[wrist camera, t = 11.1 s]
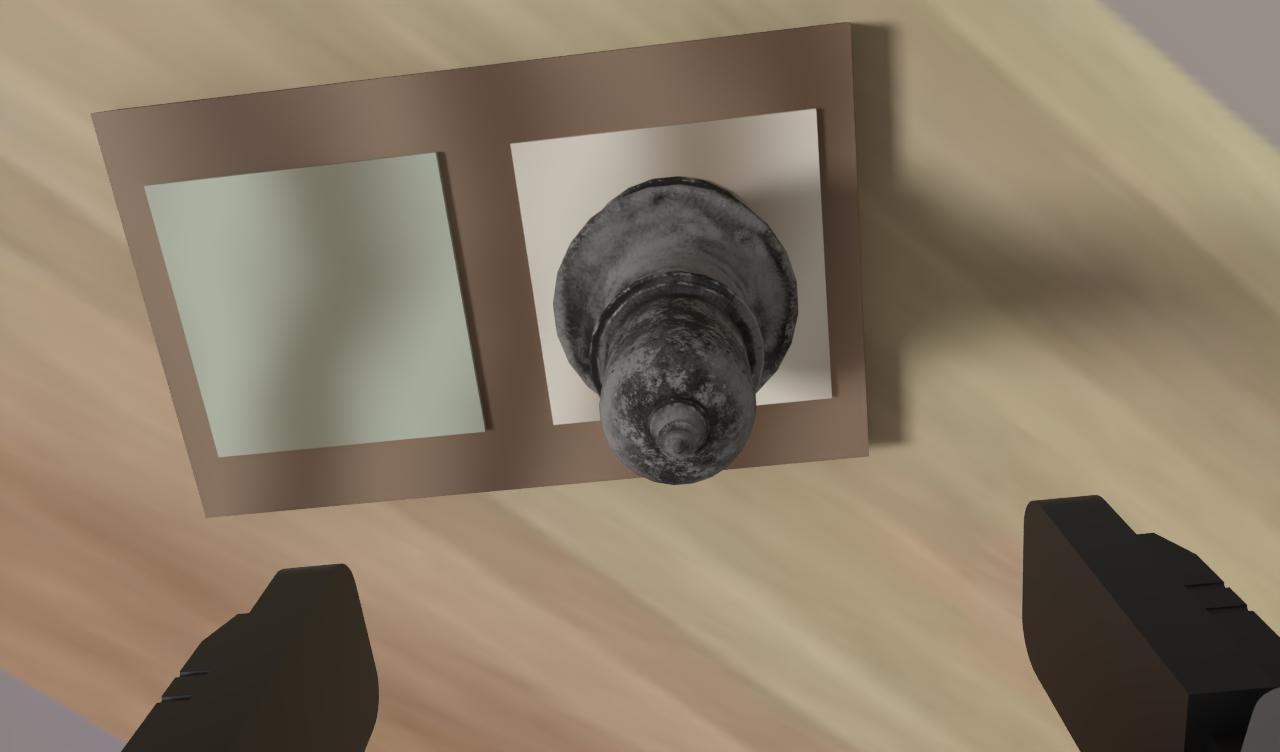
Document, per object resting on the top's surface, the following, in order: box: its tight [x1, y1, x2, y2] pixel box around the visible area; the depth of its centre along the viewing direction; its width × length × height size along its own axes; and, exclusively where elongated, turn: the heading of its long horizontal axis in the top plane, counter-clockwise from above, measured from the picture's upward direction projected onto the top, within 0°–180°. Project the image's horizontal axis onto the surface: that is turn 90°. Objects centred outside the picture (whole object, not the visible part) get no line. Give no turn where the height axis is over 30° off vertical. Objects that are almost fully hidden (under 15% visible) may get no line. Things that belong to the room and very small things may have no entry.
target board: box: [91, 22, 869, 518], centre depth 28 cm, size 20×12×1 cm, turn 97°
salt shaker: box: [553, 176, 798, 485], centre depth 22 cm, size 6×6×12 cm
